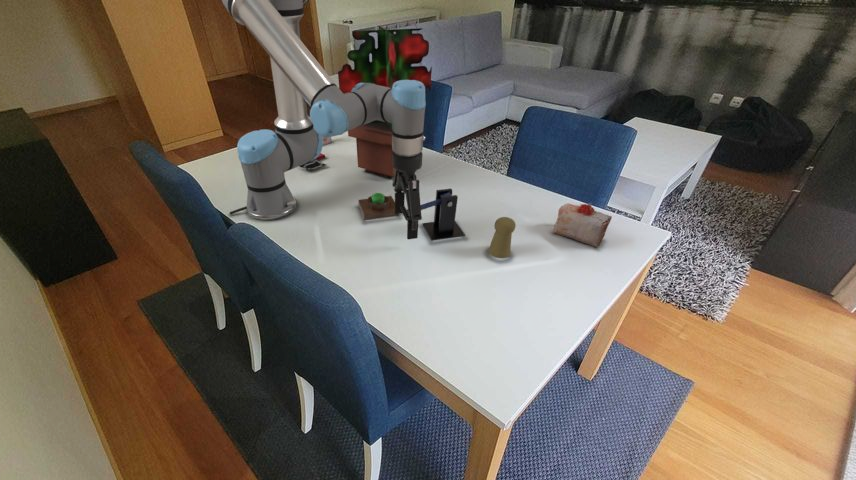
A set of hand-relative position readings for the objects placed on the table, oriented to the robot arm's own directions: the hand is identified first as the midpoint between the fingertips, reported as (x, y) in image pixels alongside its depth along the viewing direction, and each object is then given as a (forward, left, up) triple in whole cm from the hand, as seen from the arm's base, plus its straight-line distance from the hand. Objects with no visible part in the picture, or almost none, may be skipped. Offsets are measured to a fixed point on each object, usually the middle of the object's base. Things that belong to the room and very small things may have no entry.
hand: (405, 225), depth 108 cm
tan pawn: (+23, -14, -4) cm, 27 cm away
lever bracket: (+12, 0, -4) cm, 12 cm away
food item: (+49, -11, -5) cm, 50 cm away
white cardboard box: (-15, +80, -5) cm, 82 cm away
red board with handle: (-26, +66, -4) cm, 71 cm away
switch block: (-4, +16, -4) cm, 17 cm away
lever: (+6, 0, +4) cm, 8 cm away
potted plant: (+6, +47, -4) cm, 48 cm away
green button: (-4, +16, 0) cm, 17 cm away
